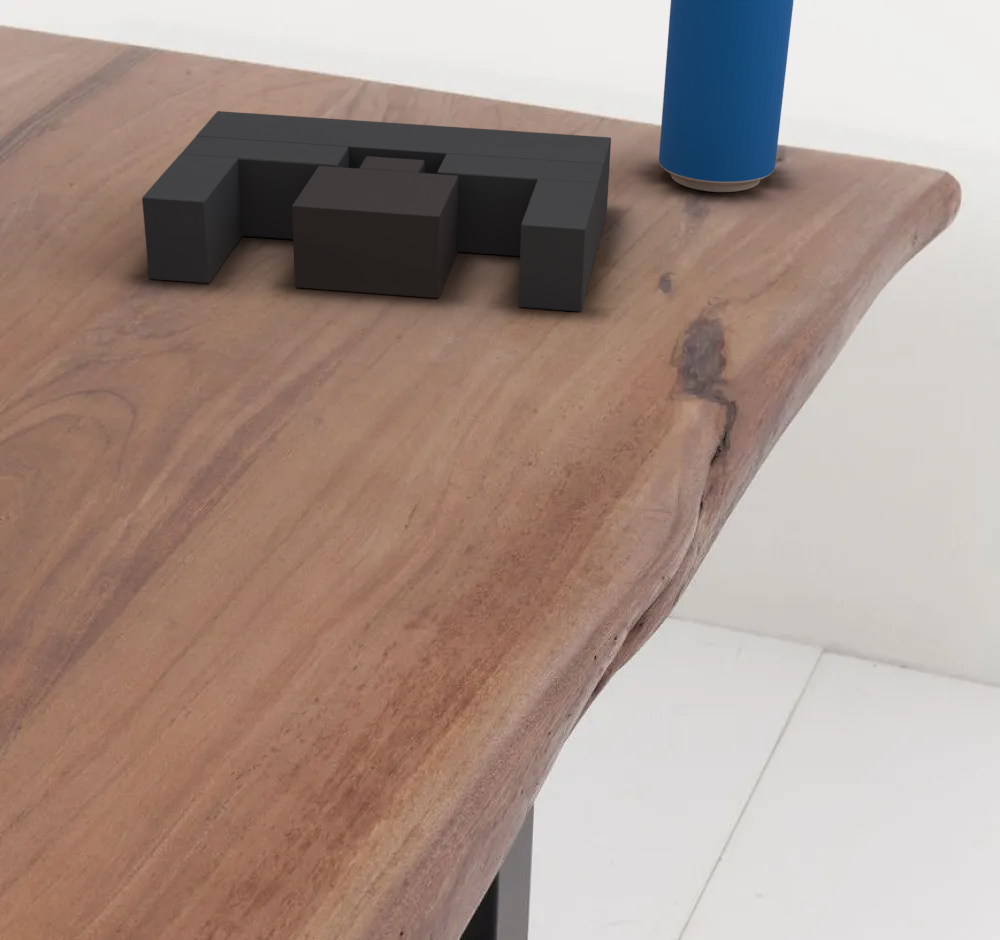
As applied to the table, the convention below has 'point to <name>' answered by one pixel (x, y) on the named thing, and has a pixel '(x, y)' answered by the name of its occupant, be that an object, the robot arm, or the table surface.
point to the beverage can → (724, 91)
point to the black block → (376, 229)
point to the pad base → (346, 143)
